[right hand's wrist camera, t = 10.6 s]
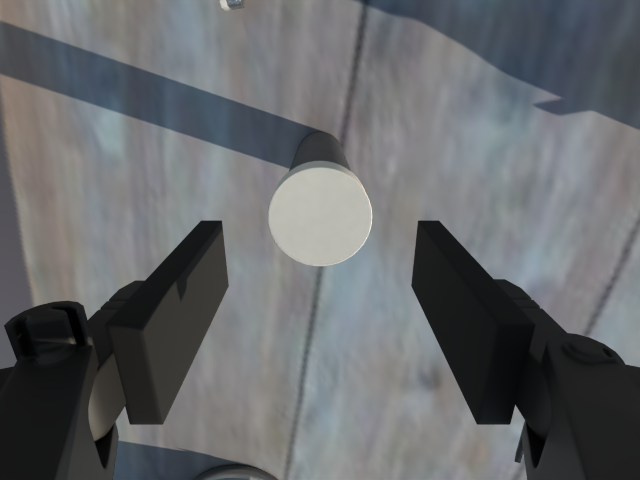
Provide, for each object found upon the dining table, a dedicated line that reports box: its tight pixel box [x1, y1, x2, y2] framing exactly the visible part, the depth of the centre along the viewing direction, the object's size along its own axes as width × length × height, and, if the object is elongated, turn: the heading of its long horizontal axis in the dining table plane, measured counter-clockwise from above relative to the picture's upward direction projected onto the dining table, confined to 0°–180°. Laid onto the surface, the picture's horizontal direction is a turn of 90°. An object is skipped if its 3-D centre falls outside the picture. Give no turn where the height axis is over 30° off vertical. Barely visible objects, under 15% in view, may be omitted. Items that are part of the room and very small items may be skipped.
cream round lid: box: [268, 161, 372, 266], centre depth 19 cm, size 5×5×2 cm
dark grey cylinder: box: [289, 132, 351, 171], centre depth 27 cm, size 4×4×19 cm
